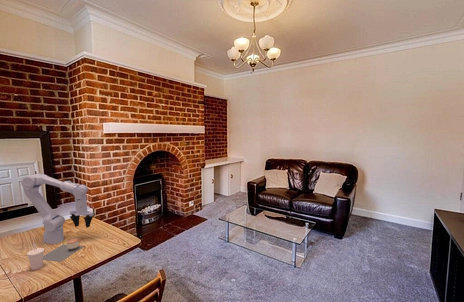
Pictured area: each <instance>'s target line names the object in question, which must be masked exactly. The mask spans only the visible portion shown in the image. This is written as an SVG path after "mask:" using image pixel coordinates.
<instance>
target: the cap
mask: <svg viewBox="0 0 464 302" xmlns="http://www.w3.org/2000/svg"><path fill="white" fill-rule="evenodd" d="M66 245H67V248H68V249H73V248H76V247H78V246H80V242H79V238H77V237H76V238H75V237H74V238H70V239H67V241H66Z"/></svg>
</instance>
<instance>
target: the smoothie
mask: <svg viewBox="0 0 464 302" xmlns="http://www.w3.org/2000/svg"><path fill="white" fill-rule="evenodd" d="M32 245H33V246H32V247H33V249H30V251H28V252H27V253H26V254H27V255H26V256H27V258H28V261H29V265H30V267H31V270H32V271H36V270H39V269H41V268H42V267H43V266H44V265H43V264H44V260H43V256H44V255H45V252H46V251H45V248H44V247H37V248H36V242H33V244H32Z"/></svg>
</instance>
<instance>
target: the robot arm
mask: <svg viewBox="0 0 464 302" xmlns="http://www.w3.org/2000/svg"><path fill="white" fill-rule="evenodd" d="M43 184H45V185H49V186H53V187H57V188H59V189H60V190H61V191H64V192H66V193H70V194H72V195H73V196H74V201H75V203H74V204H75V206H74V207H75V210H72V211H70V212H69V215H70V216H69V218H70V219H71V221H72V222H73V225H74V227H76V228H78V227H79V226H80V216H84V217H83V220H84V223H85V228H86V229H87V228H90V227H91V222H92V220H93V218H94V216H95V215H94V211H89V210H88V200H87V199H88V198H87V192H88V186H87V185H86V184H79V183H74V182H72V181H71V180H65V181H61V180H59V179H56V178H54V177H51V176H49V175H47V174H43V173H41V172H40V173H36V174H32V175H27V176H24V177H23V178H22V180H21V183H20V185H21V186H22V188H23V193H24V195H25V196H26V197H27V198H28V200H29V201H30V202H31V204H32V205H33V206H34V208H36V210H37V212H38V213H39V214H40V215H41V217H42V218H43V220H42V225H43V226H44V227H43V228H44V232H43V234H42V237H43V243H44V244H49V245H56V244H60V243H62V242H63V241H64V239H65V237H64V224H65V222H66V219H65V217H64V216H63V215H61V214H60V213H59V212H55V211H54V209H53V208H52V207H51V206H50V204H49V203H48V202H47V201H46V199H45V198H44V196H43V195H42V194H41V193H40V191H39V189H40V188H41V186H42V185H43Z"/></svg>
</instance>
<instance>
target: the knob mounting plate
mask: <svg viewBox="0 0 464 302" xmlns="http://www.w3.org/2000/svg"><path fill="white" fill-rule="evenodd" d="M84 247H85V246H83V245H79V246H78V247H76V248H73V249H68V248H67V244H61V245H60V246H58V247H56V248H55V249H52V250H51V251H49V252H47V253H46V254H44V256H43V261H48V262H49V261H50V262H57V263H58V262H59V263H61V262H63V261H65V260H66V259H67V258H69V257H71V256H72V255H73V254H76V253H77V252H78V251H80V250H82V249H83V248H84Z"/></svg>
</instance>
